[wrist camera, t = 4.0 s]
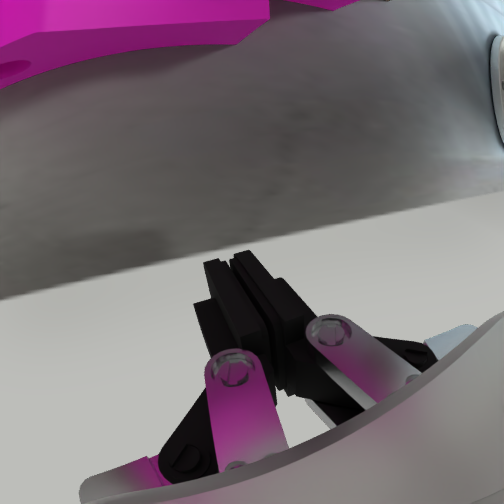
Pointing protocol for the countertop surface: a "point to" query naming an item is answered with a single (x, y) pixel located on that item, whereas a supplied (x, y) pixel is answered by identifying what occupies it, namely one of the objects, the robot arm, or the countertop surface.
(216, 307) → the robot arm
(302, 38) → the countertop surface
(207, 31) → the toy block
